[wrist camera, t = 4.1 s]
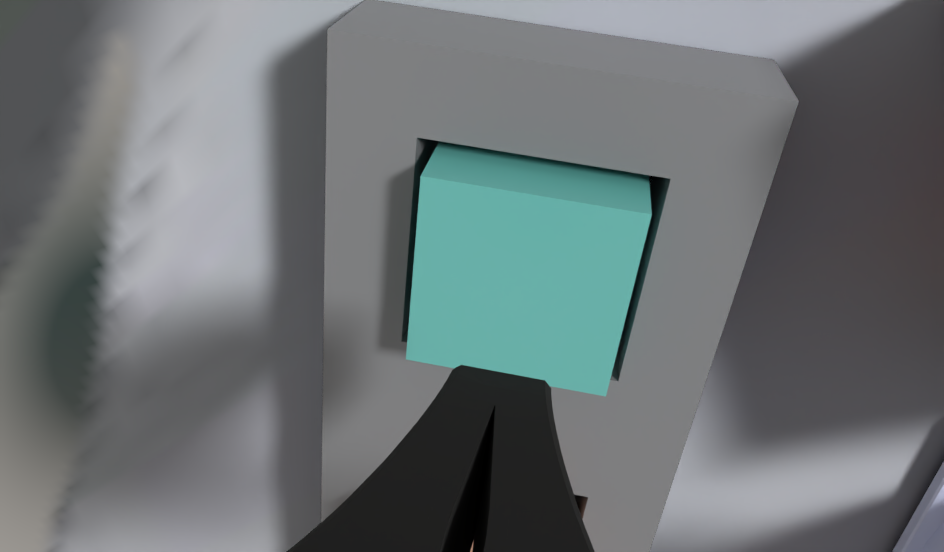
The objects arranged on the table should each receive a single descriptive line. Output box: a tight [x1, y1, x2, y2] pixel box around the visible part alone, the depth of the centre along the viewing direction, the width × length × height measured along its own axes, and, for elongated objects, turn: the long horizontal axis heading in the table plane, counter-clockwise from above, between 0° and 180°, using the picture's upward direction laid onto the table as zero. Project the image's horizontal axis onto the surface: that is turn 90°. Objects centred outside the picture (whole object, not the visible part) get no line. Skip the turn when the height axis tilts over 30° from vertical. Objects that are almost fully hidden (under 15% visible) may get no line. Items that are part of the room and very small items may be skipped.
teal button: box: [406, 141, 652, 396], centre depth 16 cm, size 4×4×4 cm
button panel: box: [321, 0, 799, 552], centre depth 21 cm, size 24×8×2 cm, turn 174°
